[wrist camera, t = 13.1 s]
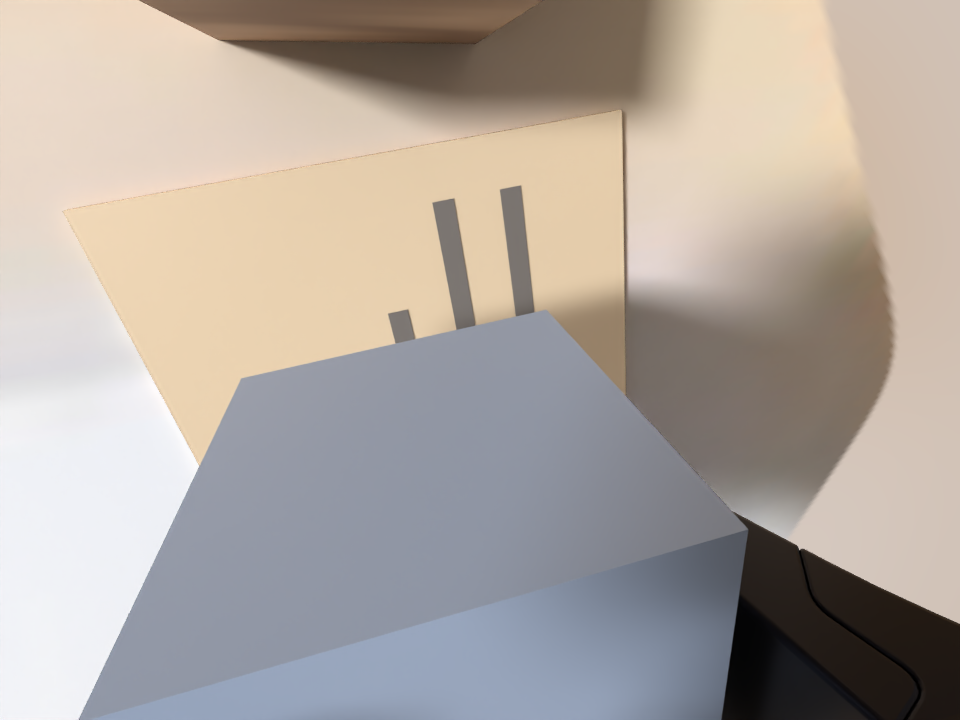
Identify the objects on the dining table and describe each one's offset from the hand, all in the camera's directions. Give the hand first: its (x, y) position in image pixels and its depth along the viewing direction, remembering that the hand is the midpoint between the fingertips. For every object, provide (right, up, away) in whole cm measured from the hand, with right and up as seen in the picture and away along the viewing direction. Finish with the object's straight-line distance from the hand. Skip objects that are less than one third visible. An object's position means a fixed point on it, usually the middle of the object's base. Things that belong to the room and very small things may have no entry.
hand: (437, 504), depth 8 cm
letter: (-1, +3, +4) cm, 6 cm away
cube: (0, +1, +1) cm, 1 cm away
